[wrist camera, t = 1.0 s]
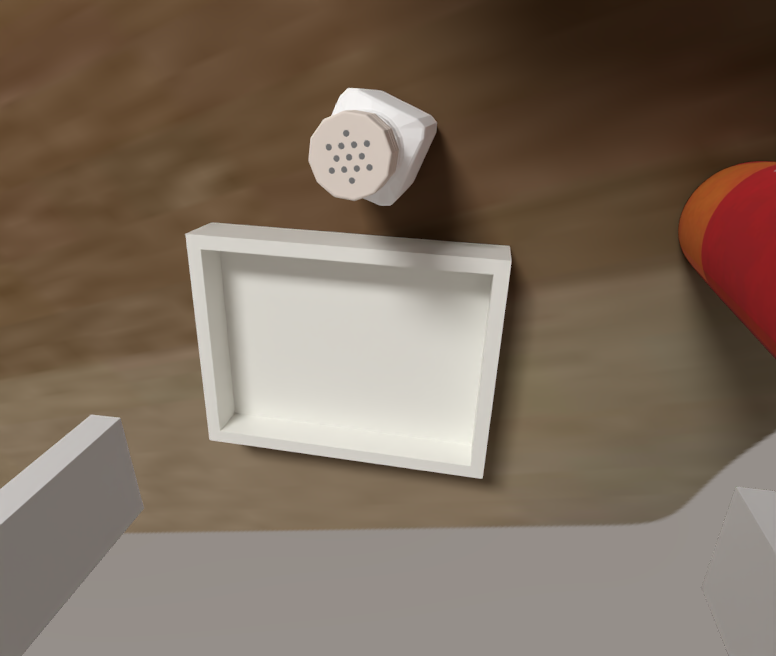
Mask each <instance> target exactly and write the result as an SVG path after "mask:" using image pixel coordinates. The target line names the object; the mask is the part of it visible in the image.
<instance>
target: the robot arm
mask: <svg viewBox="0 0 776 656" xmlns="http://www.w3.org/2000/svg"><path fill="white" fill-rule="evenodd" d="M143 509H144V507H143V503H142V499H141V496H140V492H139V488H138V484H137V480H136V476H135V472H134V469H133V465H132V461H131V457H130V453H129V449H128V445H127V442H126V438H125V434H124V430H123V426H122V422H121V419H120V418H116V417H107V416H98V415H90V416H89V417H88V418H87V419H85V420H84V421H83V422H82V423H80V424H79V425H78V426H77V427H76V428H74V429H73V430H72V431H71V432H69V433H68V434H67V435H66V436H65V437H63V438H62V439H61V440H60V441H58V442H57V443H56V444H55V445H54V446H52V447H51V448H50V449H49V450H47V451H46V452H45V453H44V454H43V455H41V456H40V457H39V458H38V459H36V460H35V461H34V462H33V463H32V464H30V465H29V466H28V467H27V468H25V469H24V470H23V471H22V472H21V473H19V474H18V475H17V476H16V477H14V478H13V479H12V480H11V481H10V482H8V483H7V484H6V485H5V486H3V487H2V488H1V489H0V656H22V655H23V654H24V652H25V651H26V650H27V649H28V647H29V646H30V645H31V644H32V643H33V641H34V640H35V639H36V638H37V637H38V635H39V634H40V633H41V632H42V631H43V629H44V628H45V627H46V626H47V625H48V623H49V622H50V621H51V620H52V619H53V617H54V616H55V615H56V614H57V613H58V611H59V610H60V609H61V608H62V607H63V605H64V604H65V603H66V602H67V600H68V599H69V598H70V597H71V596H72V594H73V593H74V592H75V591H76V590H77V588H78V587H79V586H80V585H81V583H82V582H83V581H84V580H85V579H86V577H87V576H88V575H89V574H90V573H91V572H92V570H93V569H94V568H95V567H96V565H97V564H98V563H99V562H100V561H101V560H102V558H103V557H104V556H105V555H106V553H107V552H108V551H109V550H110V549H111V547H112V546H113V545H114V544H115V543H116V541H117V540H118V539H119V538H120V537H121V535H122V534H123V533H124V532H125V531H126V529H127V528H128V527H129V526H130V525H131V523H132V522H133V521H134V520H135V519H136V517H137V516H138V515H139V514H140V513H141V511H142V510H143ZM701 588H702V591H703V593H704V596H705V598H706V601H707V603H708V606H709V608H710V611H711V613H712V616H713V618H714V621H715V623H716V626H717V628H718V631H719V633H720V636H721V638H722V641H723V643H724V646H725V648H726V651H727V653H728V655H729V656H776V491H773V490H764V489H754V488H746V487H737V486H736V487H735V490H734V493H733V496H732V499H731V502H730V505H729V508H728V511H727V514H726V516H725V519H724V522H723V525H722V528H721V531H720V534H719V537H718V540H717V543H716V546H715V549H714V552H713V555H712V558H711V560H710V563H709V567H708V570H707V572H706V575H705V578H704V581H703V584H702V587H701Z"/></svg>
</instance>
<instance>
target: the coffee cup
mask: <svg viewBox="0 0 776 656" xmlns="http://www.w3.org/2000/svg"><path fill="white" fill-rule="evenodd" d="M678 235H679V242H680V245H681V248H682V251H683V253H684V255H685V257H686V258H687V260H688V261H689V263H690V264H691V265H692V266H693V268H694V269H695V270H696V271H697V273H698V274H699V275H700V276H701V277H702V278H703V279H704V281H705V282H706V283H707V284H708V285H709V286H710V287H711V289H712V290H713V291H714V292H715V293H716V294H717V295H718V296H719V297H720V299H721V300H722V301H723V302H724V303H725V304H726V305H727V306H728V307H729V308H730V310H731V311H732V312H733V313H734V314H735V315H736V316H737V317H738V318H739V319H740V321H741V322H742V323H743V324H744V325H745V326H746V327H747V328H748V329H749V330H750V332H751V333H752V334H753V335H754V336H755V337H756V338H757V339H758V340H759V341H760V342H761V344H762V345H763V346H764V347H765V348H766V349H767V350H768V351H769V352H770V353H771V354H772V356H773V357H774V358H775V359H776V162H769V161H759V162H747V163H741V164H737V165H734V166H731V167H728V168H725V169H723V170H721V171H719V172H717V173H716V174H714V175H712V176H711V177H709V178H708V179H707V180H705V181H704V182H703V183H702V184H701V185H700V186H699V187H698V188H697V189H696V190H695V191H694V192H693V194H692V195H691V196H690V198H689V199H688V201H687V202H686V204H685V206H684V208H683V211H682V213H681V217H680V221H679V228H678Z"/></svg>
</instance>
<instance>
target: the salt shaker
mask: <svg viewBox="0 0 776 656" xmlns="http://www.w3.org/2000/svg"><path fill="white" fill-rule="evenodd" d="M436 132H437V122H436V121H435V119H434V118H433V117H432V116H431V115H430V114H428V113H426V112H424V111H422V110H420V109H418V108H416V107H414V106H412V105H410V104H408V103H405V102H403V101H401V100H399V99H397V98H395V97H393V96H391V95H389V94H387V93H385V92H383V91H381V90H370V89H359V88H348V89H347V90H346V91H345V92H344V93H342V94H341V95H340V97H339V99H338V101H337V104H336V106H335V108H334V111H333V113H332V116H330V117H328V118H325V119H323V121H322V122H321V124H320V125H319V127H318V128H317V129H316V131H315V132H314V134H313V135H312V137H311V140H310V150H309V163H310V166H311V168H312V171H313V173H314V176H315V178H316V181H317V183H319V184H320V185H321V186H322V187H323V188H324V189H326V190H327V191H328V192H329V193H330V194H331V195H333V196H334V197H338V198H343V199H348V200H353V201H356V200H359V199H362V198H364V199H366V200H368V201H370V202H373V203H375V204H377V205H380V206H391V205H392V204H393V203H394V202H395V201H396V200H397V199H398V198H399V197H400V196H401V195H402V194H403V193H404V192H405V191H406V190H407V189H408V188H409V187H410V186H411V185H412V183H413V182H414V180H415V178H416V176H417V173H418V171H419V169H420V167H421V165H422V163H423V160H424V158H425V156H426V154H427V152H428V149H429V147H430V145H431V143H432V141H433V139H434V136H435V134H436Z"/></svg>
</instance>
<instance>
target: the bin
mask: <svg viewBox="0 0 776 656" xmlns="http://www.w3.org/2000/svg"><path fill="white" fill-rule="evenodd" d="M186 243H187V251H188V260H189V268H190V277H191V285H192V294H193V302H194V311H195V320H196V328H197V337H198V345H199V354H200V362H201V371H202V379H203V388H204V396H205V405H206V413H207V422H208V430H209V439H210V440H214V441H221V442H228V443H235V444H242V445H249V446H256V447H262V448H270V449H276V450H283V451H290V452H297V453H304V454H311V455H318V456H325V457H332V458H339V459H346V460H353V461H360V462H367V463H374V464H381V465H388V466H395V467H402V468H409V469H416V470H423V471H430V472H437V473H444V474H451V475H458V476H465V477H472V478H479V479H483V472H484V464H485V457H486V449H487V442H488V434H489V427H490V419H491V412H492V404H493V397H494V389H495V382H496V374H497V367H498V360H499V352H500V345H501V337H502V330H503V322H504V315H505V307H506V300H507V292H508V285H509V277H510V270H511V262H512V259H511V252H510V246H503V245H490V244H478V243H465V242H452V241H440V240H427V239H414V238H402V237H389V236H376V235H364V234H351V233H338V232H325V231H313V230H300V229H287V228H275V227H262V226H249V225H237V224H224V223H209V224H207V225H205V226H202V227H200V228H198V229H195V230H193V231H191V232H189V233H186Z"/></svg>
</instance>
